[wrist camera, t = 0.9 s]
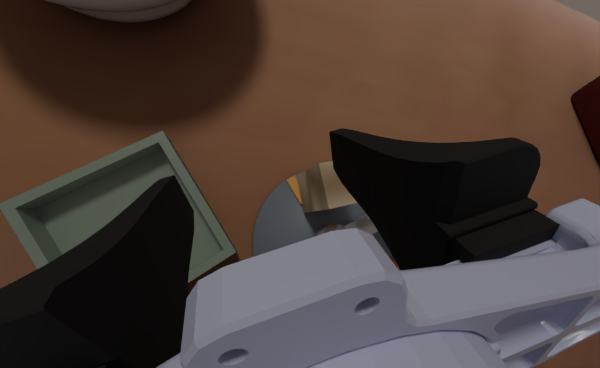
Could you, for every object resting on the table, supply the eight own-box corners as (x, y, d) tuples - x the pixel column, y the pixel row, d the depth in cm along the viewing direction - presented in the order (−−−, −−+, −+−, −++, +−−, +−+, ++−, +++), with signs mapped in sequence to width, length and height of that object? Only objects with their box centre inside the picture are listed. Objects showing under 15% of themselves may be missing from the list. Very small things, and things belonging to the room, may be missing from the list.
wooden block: (336, 205, 28) (368, 200, 23) (304, 212, 27) (329, 209, 21) (328, 170, 29) (357, 157, 23) (296, 176, 27) (318, 163, 22)
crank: (320, 263, 26) (340, 274, 21) (307, 231, 27) (324, 234, 22) (399, 225, 29) (433, 226, 24) (387, 196, 30) (419, 191, 24)
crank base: (412, 259, 30) (417, 261, 29) (303, 351, 26) (306, 355, 25) (344, 145, 30) (347, 143, 29) (222, 217, 26) (222, 216, 25)
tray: (236, 249, 26) (236, 252, 23) (102, 334, 22) (86, 348, 19) (169, 139, 25) (162, 130, 23) (23, 206, 22) (-3, 204, 19)
